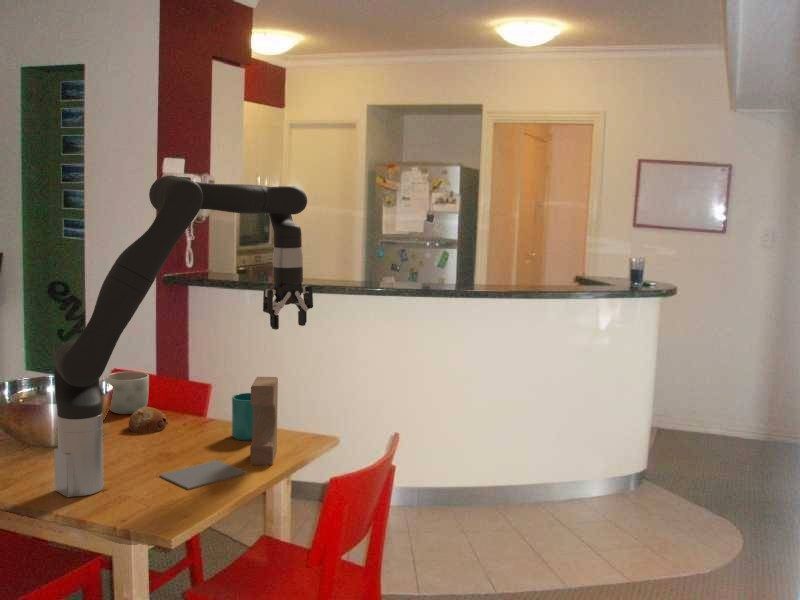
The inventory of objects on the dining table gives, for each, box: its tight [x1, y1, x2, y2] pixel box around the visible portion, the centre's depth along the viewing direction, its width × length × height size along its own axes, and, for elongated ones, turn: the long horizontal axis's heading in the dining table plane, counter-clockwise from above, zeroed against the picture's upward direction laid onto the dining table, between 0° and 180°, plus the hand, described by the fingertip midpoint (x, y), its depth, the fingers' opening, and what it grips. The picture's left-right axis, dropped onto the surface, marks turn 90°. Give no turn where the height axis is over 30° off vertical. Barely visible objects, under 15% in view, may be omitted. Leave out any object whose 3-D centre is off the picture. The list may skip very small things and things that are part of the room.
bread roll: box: [128, 406, 169, 434], centre depth 227 cm, size 10×10×8 cm
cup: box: [231, 392, 254, 442], centre depth 222 cm, size 9×12×11 cm
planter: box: [105, 371, 150, 415], centre depth 244 cm, size 12×12×11 cm
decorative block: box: [249, 376, 279, 467], centre depth 203 cm, size 11×6×20 cm, turn 2°
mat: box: [159, 459, 247, 491], centre depth 191 cm, size 16×12×1 cm
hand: (288, 327), depth 209 cm, fingers open, 8 cm apart
